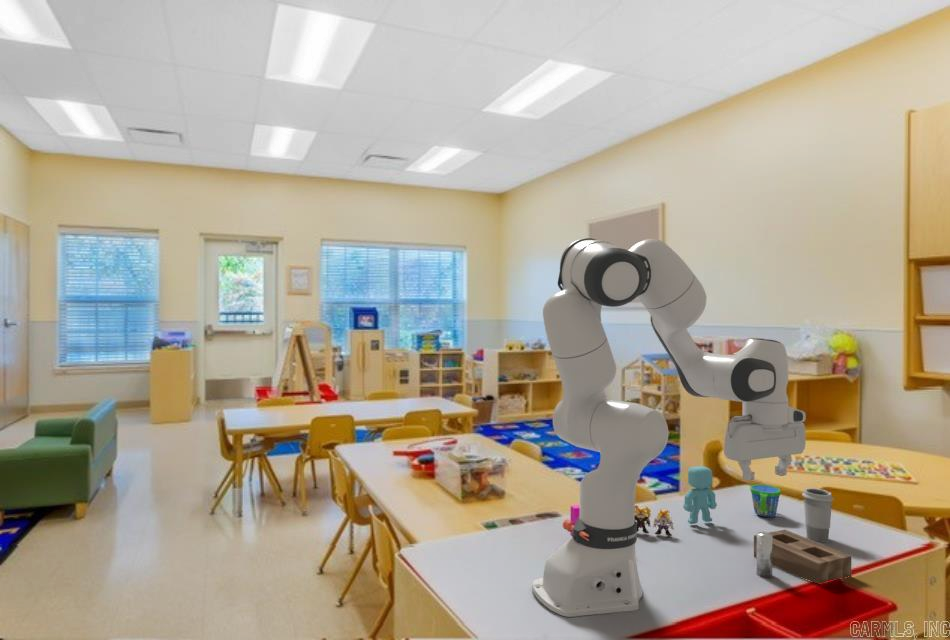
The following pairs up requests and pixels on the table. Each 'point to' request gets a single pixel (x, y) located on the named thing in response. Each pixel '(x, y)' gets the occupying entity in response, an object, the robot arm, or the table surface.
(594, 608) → the robot arm
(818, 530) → the cup
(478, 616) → the table surface
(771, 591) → the table surface
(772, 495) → the snack cup
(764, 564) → the peg
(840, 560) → the hole block
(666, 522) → the figurine set
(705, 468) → the toy
